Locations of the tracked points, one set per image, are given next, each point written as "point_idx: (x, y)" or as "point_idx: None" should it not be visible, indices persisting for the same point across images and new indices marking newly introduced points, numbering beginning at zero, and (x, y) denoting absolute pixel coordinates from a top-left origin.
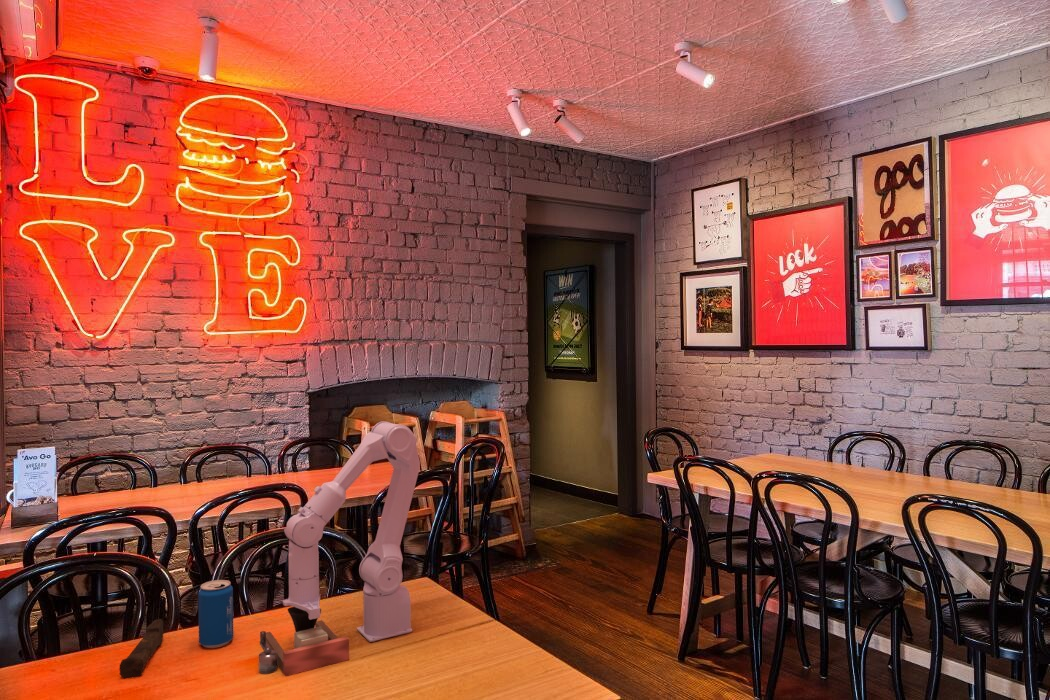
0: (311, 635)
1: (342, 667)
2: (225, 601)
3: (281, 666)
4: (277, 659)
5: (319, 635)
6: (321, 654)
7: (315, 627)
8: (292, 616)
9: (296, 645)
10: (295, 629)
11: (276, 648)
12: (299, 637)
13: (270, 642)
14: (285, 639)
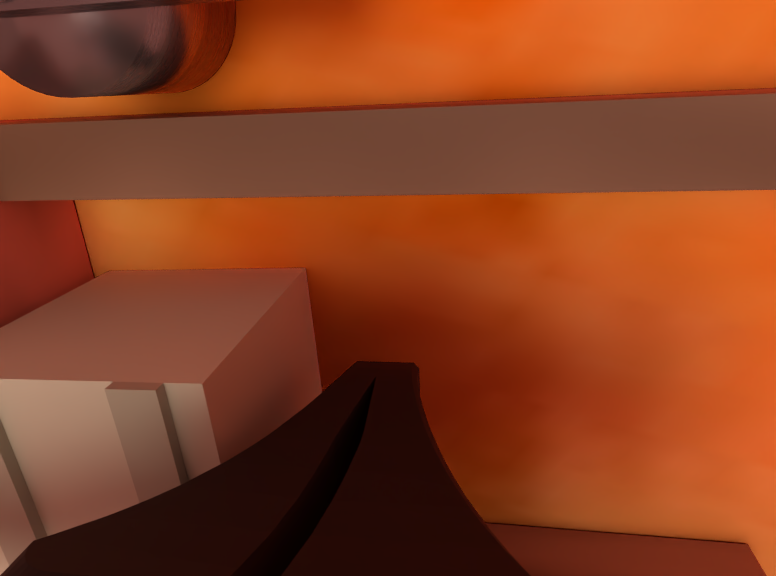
0: (10, 498)
1: None
2: None
3: (75, 118)
4: (215, 113)
5: (14, 550)
6: None
7: (755, 572)
8: (155, 556)
9: (180, 322)
10: (399, 428)
11: (335, 139)
12: (28, 388)
13: (556, 112)
14: (772, 307)
